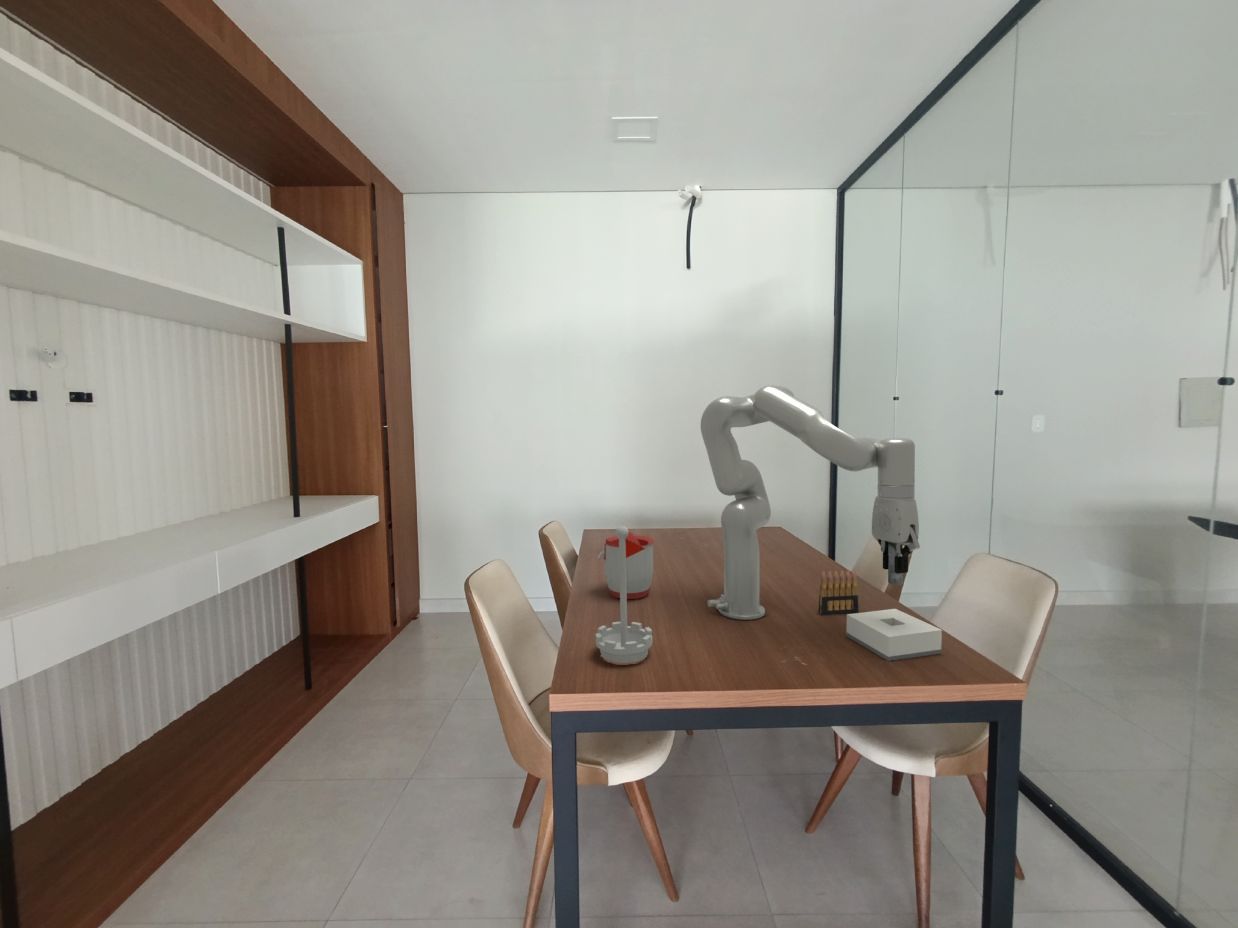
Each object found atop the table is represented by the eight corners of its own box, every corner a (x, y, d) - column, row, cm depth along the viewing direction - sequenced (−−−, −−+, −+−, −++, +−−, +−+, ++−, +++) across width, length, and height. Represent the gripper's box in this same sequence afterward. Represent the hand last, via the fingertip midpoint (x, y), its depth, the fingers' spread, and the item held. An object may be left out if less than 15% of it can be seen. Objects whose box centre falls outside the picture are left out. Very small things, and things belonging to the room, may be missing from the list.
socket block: (888, 661, 114) (888, 636, 114) (846, 636, 128) (846, 614, 128) (941, 653, 118) (941, 629, 117) (894, 629, 131) (895, 608, 131)
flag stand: (591, 666, 115) (588, 531, 112) (601, 641, 127) (598, 520, 125) (650, 669, 113) (648, 532, 110) (654, 643, 126) (652, 520, 123)
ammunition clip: (854, 610, 145) (855, 568, 144) (858, 613, 143) (859, 570, 142) (818, 612, 144) (818, 570, 143) (821, 615, 142) (821, 572, 141)
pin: (894, 585, 120) (894, 542, 119) (885, 581, 123) (885, 540, 122) (905, 584, 120) (905, 541, 120) (895, 580, 123) (896, 539, 123)
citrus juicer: (600, 586, 171) (599, 526, 169) (653, 586, 170) (653, 525, 168) (596, 602, 155) (595, 536, 153) (655, 602, 154) (654, 536, 153)
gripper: (857, 489, 127) (857, 563, 128) (909, 497, 111) (908, 582, 112) (883, 487, 129) (883, 560, 130) (938, 495, 113) (937, 578, 114)
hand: (895, 569), depth 121 cm, fingers closed on pin, 3 cm apart
